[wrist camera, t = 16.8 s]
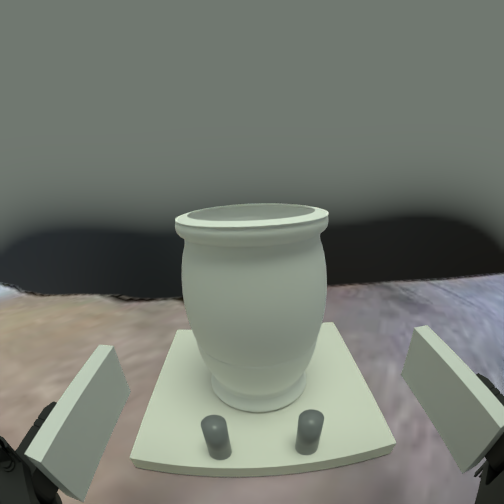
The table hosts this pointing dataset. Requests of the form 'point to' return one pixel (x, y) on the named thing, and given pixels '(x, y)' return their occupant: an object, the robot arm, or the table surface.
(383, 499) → the table surface
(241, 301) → the jar
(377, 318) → the table surface
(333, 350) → the tray
